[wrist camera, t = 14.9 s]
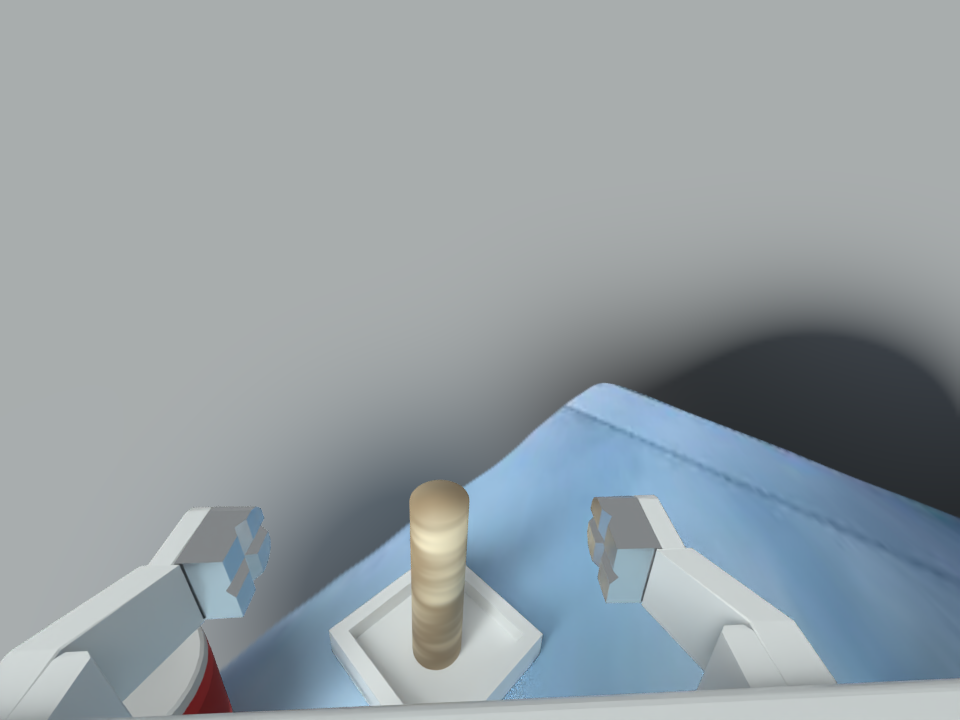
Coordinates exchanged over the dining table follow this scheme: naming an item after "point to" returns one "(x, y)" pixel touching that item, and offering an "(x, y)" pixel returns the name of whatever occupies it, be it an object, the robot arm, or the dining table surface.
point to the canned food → (182, 684)
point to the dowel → (438, 571)
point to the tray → (402, 680)
